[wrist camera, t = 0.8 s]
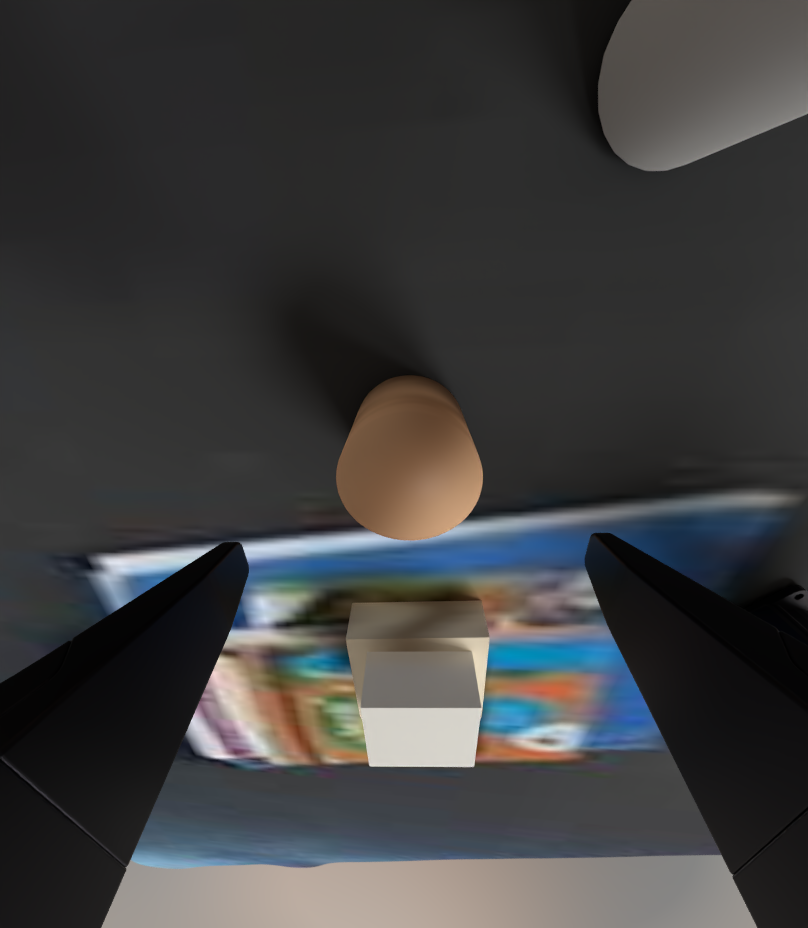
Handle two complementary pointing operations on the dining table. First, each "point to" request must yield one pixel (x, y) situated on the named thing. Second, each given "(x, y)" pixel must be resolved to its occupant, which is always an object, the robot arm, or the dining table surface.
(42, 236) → the dining table surface
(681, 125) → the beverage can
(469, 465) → the tan cylinder
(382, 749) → the white block
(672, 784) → the dining table surface
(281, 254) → the dining table surface
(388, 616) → the birch slab
